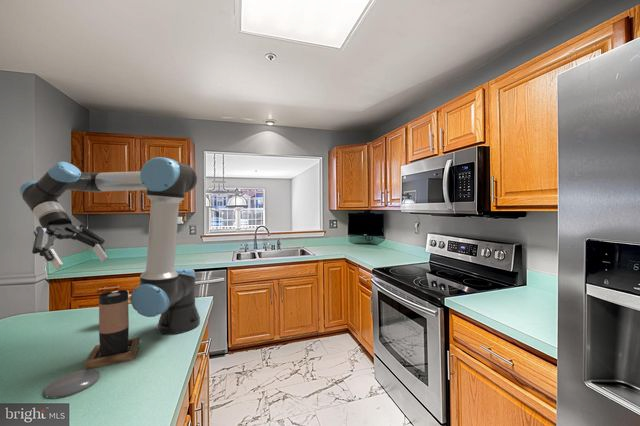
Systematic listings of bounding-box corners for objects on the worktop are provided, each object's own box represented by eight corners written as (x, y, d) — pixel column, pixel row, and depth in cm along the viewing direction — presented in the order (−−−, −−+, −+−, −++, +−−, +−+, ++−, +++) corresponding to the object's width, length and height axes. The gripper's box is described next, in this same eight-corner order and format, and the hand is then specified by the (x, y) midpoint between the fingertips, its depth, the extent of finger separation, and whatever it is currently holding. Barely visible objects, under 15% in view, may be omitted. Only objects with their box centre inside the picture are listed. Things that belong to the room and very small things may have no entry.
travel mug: (113, 362, 84) (112, 297, 84) (92, 360, 86) (92, 296, 86) (134, 350, 92) (134, 290, 91) (115, 348, 93) (115, 289, 93)
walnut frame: (138, 342, 97) (138, 337, 97) (134, 359, 86) (134, 352, 86) (95, 351, 91) (95, 345, 91) (85, 369, 81) (85, 362, 81)
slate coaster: (103, 368, 81) (103, 365, 81) (94, 389, 72) (94, 386, 72) (53, 379, 76) (53, 376, 76) (36, 403, 67) (36, 400, 66)
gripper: (86, 223, 109) (115, 263, 105) (-2, 227, 85) (30, 279, 81) (96, 210, 107) (125, 250, 103) (8, 210, 83) (42, 262, 79)
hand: (83, 263), depth 92 cm, fingers open, 13 cm apart
